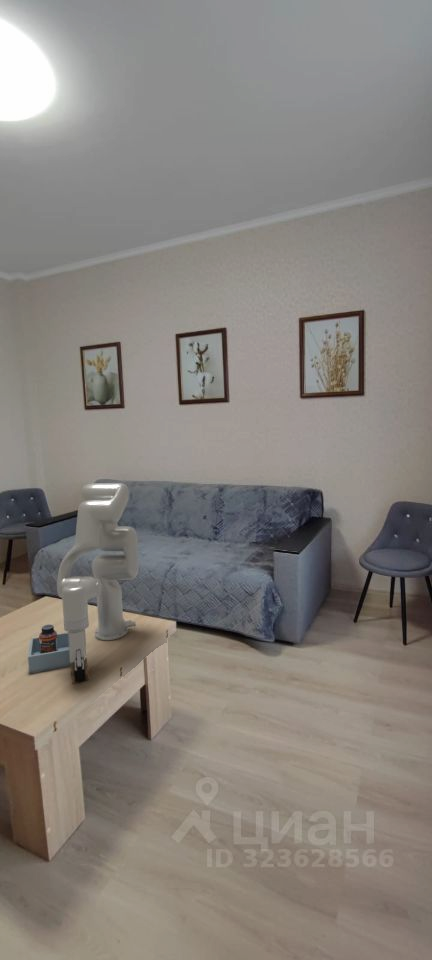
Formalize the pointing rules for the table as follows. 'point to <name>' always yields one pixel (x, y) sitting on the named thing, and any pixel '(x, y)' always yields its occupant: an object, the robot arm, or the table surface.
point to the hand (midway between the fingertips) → (80, 676)
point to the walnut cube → (74, 669)
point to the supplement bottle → (48, 639)
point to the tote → (49, 655)
